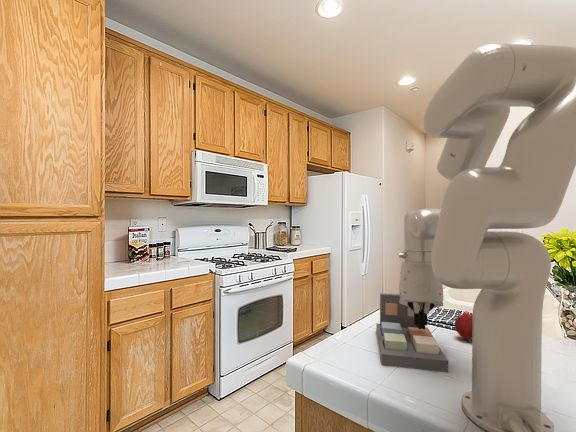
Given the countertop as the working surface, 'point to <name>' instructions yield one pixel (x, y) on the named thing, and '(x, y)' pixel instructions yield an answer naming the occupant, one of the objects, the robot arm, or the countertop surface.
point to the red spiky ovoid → (464, 325)
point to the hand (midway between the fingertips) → (420, 327)
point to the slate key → (391, 328)
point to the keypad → (409, 358)
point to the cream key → (425, 344)
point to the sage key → (395, 342)
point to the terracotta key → (417, 332)
